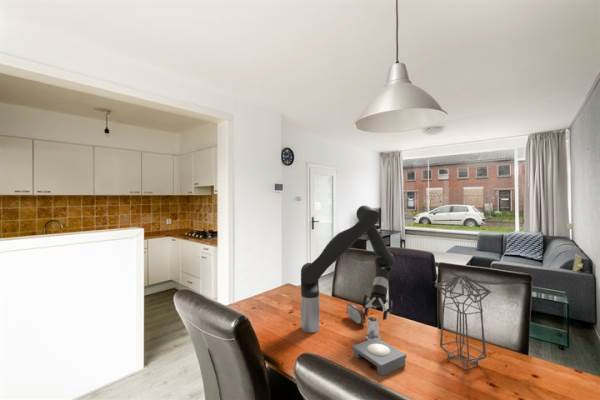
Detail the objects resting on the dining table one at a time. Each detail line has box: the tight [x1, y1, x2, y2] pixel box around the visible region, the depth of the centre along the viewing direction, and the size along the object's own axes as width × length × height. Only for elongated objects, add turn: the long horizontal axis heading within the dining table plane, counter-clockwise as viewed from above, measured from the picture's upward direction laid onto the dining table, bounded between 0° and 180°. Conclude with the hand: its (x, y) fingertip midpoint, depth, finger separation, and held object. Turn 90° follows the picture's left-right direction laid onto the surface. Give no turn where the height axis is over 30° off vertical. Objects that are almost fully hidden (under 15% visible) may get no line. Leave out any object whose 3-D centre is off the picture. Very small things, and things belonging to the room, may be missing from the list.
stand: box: [351, 338, 407, 377], centre depth 111 cm, size 16×14×4 cm
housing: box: [365, 316, 381, 341], centre depth 128 cm, size 7×7×10 cm
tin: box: [346, 302, 367, 325], centre depth 148 cm, size 15×3×8 cm, turn 22°
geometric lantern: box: [434, 274, 493, 371], centre depth 109 cm, size 16×16×35 cm
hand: (374, 317), depth 131 cm, fingers open, 8 cm apart
